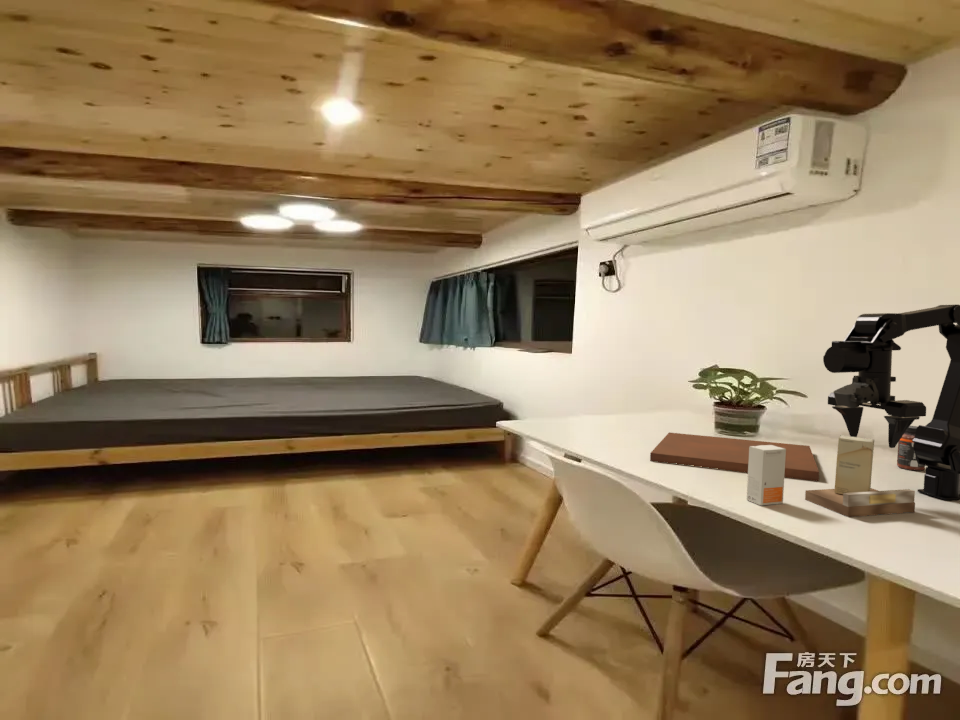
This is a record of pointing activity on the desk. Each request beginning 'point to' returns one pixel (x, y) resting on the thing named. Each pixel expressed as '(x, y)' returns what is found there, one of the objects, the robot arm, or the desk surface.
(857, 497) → the brown flat block
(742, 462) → the brown wooden cutting board
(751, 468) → the skincare box
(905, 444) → the supplement bottle
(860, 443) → the skincare box
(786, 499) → the desk surface
